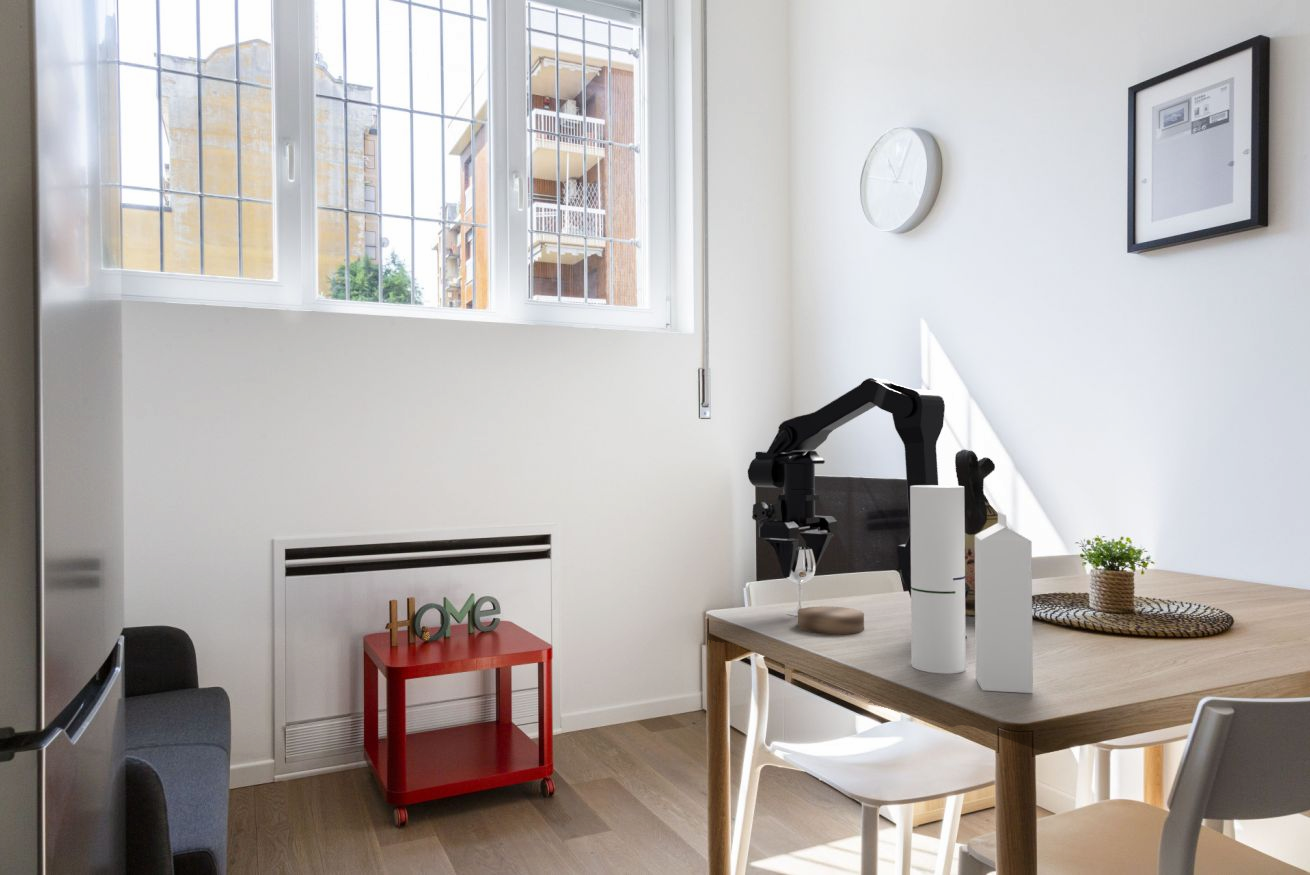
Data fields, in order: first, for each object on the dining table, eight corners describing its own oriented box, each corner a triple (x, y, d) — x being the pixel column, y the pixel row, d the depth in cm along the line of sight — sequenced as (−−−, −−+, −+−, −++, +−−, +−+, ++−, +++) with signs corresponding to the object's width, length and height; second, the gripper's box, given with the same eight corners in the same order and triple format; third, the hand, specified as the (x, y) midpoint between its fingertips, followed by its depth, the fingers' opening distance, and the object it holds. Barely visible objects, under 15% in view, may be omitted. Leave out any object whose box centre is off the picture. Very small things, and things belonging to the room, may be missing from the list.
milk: (1023, 681, 111) (1023, 511, 111) (1033, 694, 105) (1033, 515, 106) (974, 678, 113) (974, 510, 113) (980, 691, 107) (980, 514, 107)
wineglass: (818, 616, 153) (817, 550, 153) (785, 616, 153) (785, 550, 154) (812, 610, 159) (812, 546, 159) (781, 610, 159) (781, 546, 159)
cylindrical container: (977, 669, 117) (975, 486, 117) (940, 676, 113) (939, 488, 114) (936, 658, 123) (935, 484, 124) (900, 664, 120) (899, 486, 120)
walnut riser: (875, 626, 145) (875, 611, 145) (845, 637, 137) (845, 621, 137) (817, 618, 152) (817, 604, 152) (785, 628, 144) (785, 613, 144)
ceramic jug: (954, 601, 168) (952, 449, 168) (1036, 611, 158) (1034, 449, 158) (917, 614, 155) (916, 449, 155) (1004, 626, 145) (1003, 449, 145)
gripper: (787, 485, 169) (787, 564, 169) (733, 489, 154) (734, 576, 154) (838, 487, 162) (838, 569, 161) (787, 491, 147) (787, 582, 147)
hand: (799, 574), depth 156 cm, fingers open, 9 cm apart
